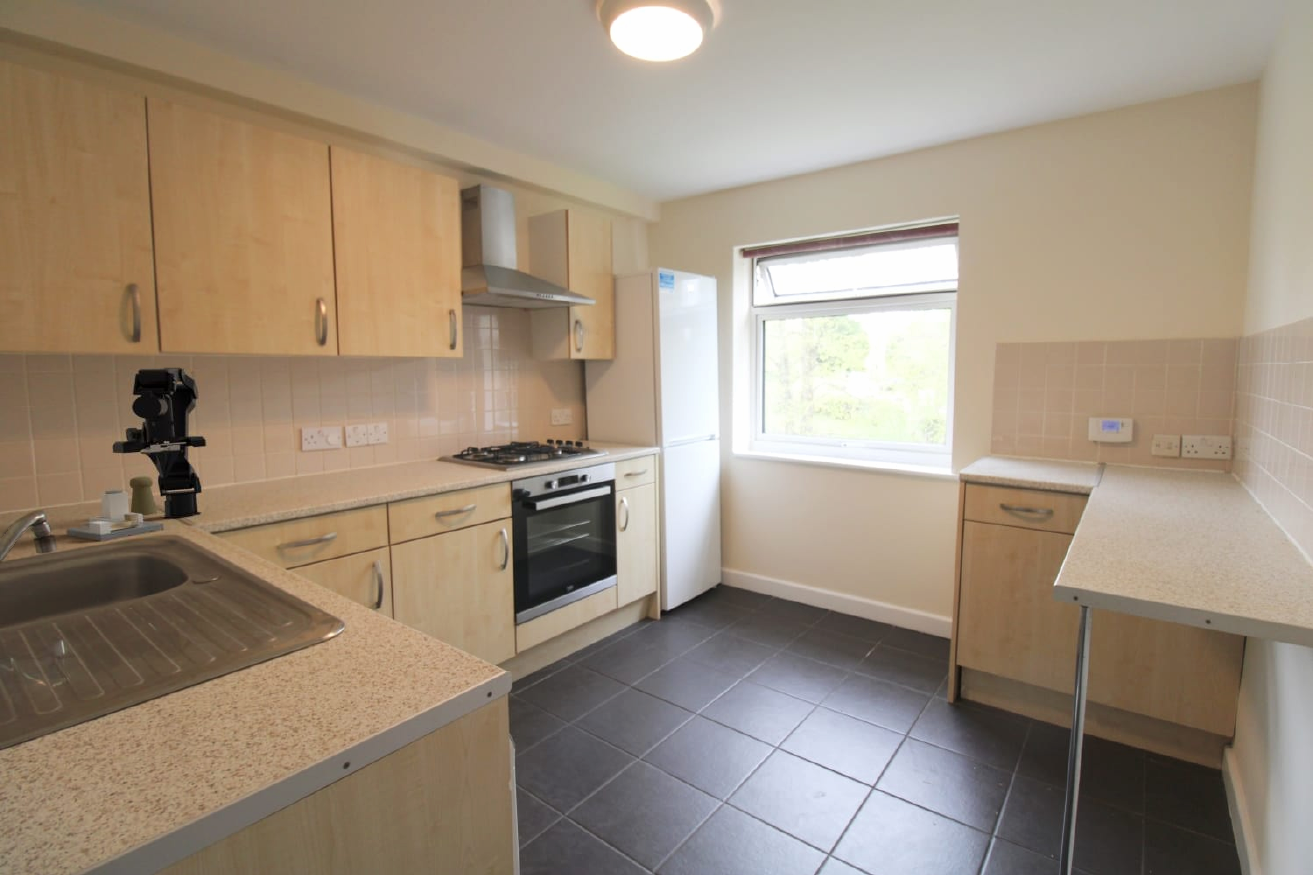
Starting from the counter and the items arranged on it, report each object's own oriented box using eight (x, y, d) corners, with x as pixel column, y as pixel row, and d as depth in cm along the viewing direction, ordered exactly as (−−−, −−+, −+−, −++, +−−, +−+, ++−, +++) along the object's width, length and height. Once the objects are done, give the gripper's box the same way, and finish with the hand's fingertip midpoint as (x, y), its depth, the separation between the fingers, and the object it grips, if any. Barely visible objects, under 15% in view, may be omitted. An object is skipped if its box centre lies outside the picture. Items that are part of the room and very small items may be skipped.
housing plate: (128, 524, 169) (127, 509, 168) (163, 529, 161) (162, 514, 161) (66, 534, 157) (65, 519, 157) (101, 541, 149) (99, 524, 149)
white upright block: (122, 521, 165) (119, 488, 164) (130, 522, 163) (127, 489, 163) (103, 524, 162) (100, 491, 161) (111, 525, 160) (108, 492, 159)
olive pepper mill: (148, 511, 187) (144, 475, 186) (162, 512, 185) (159, 475, 184) (125, 515, 181) (121, 478, 180) (140, 516, 179) (136, 478, 178)
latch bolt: (132, 524, 159) (131, 513, 159) (139, 525, 157) (138, 513, 157) (103, 529, 153) (102, 517, 153) (110, 530, 152) (108, 518, 152)
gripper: (181, 415, 174) (186, 471, 175) (98, 419, 157) (104, 481, 159) (205, 415, 169) (209, 473, 171) (121, 419, 153) (127, 483, 154)
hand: (164, 477), depth 164 cm, fingers closed
